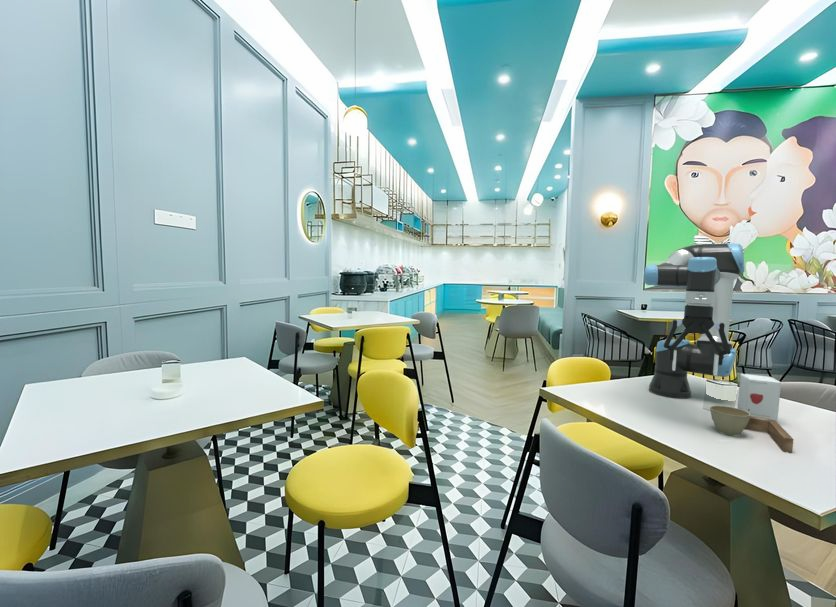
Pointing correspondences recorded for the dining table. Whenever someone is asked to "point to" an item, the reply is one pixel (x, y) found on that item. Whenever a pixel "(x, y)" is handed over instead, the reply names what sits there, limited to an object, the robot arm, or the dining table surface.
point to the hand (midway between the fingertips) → (693, 372)
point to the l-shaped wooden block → (772, 432)
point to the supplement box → (759, 396)
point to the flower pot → (729, 419)
